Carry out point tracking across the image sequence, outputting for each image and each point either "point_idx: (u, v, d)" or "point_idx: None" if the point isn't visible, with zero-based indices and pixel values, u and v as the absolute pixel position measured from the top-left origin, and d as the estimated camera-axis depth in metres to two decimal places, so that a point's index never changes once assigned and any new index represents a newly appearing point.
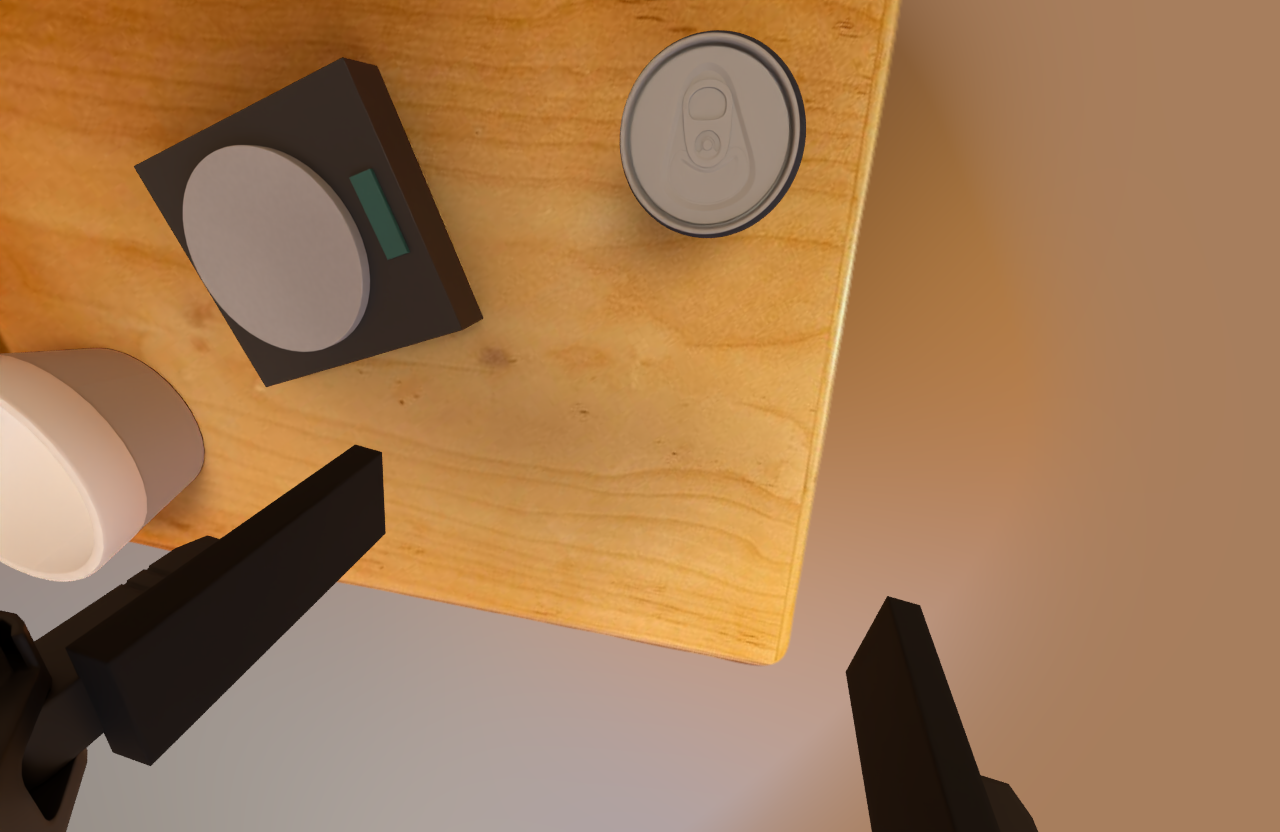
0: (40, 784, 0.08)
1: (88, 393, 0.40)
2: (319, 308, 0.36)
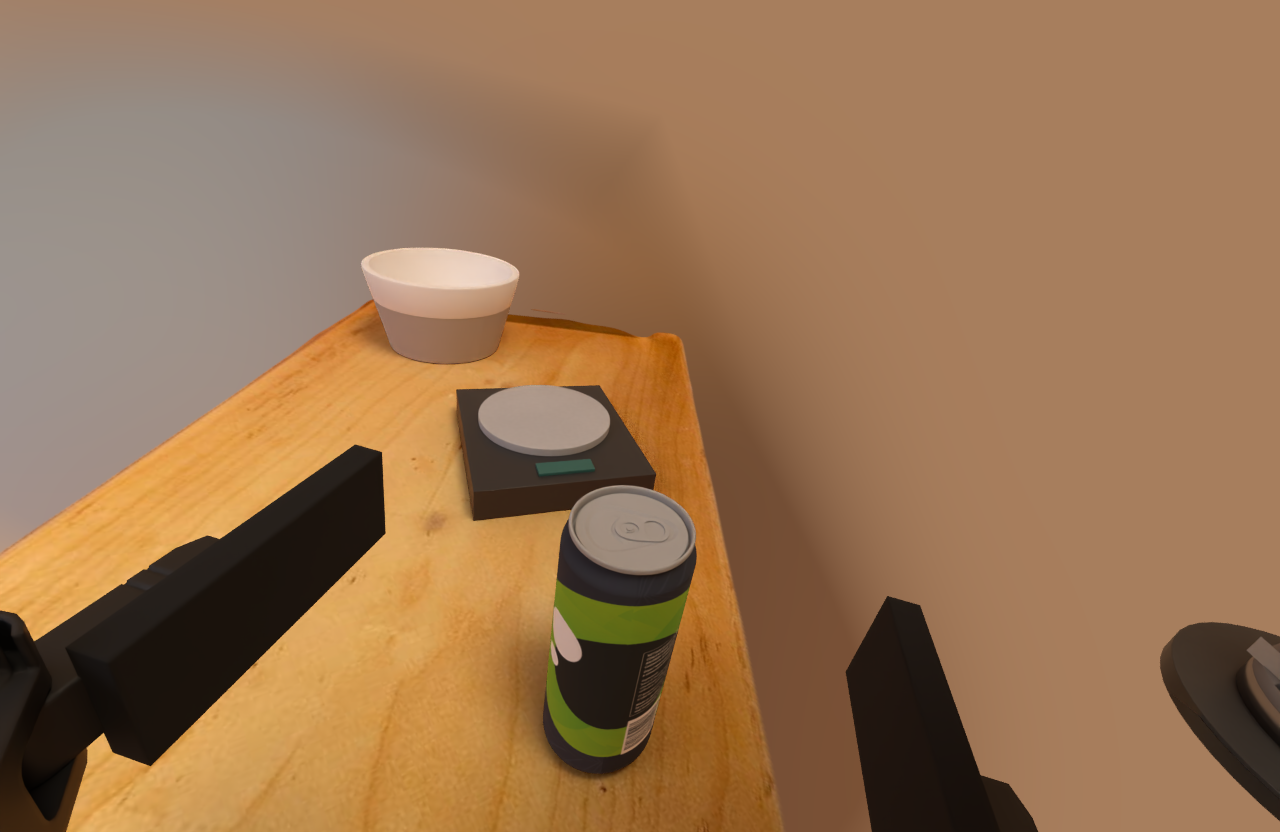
0: (40, 784, 0.08)
1: (479, 321, 0.67)
2: (508, 423, 0.51)
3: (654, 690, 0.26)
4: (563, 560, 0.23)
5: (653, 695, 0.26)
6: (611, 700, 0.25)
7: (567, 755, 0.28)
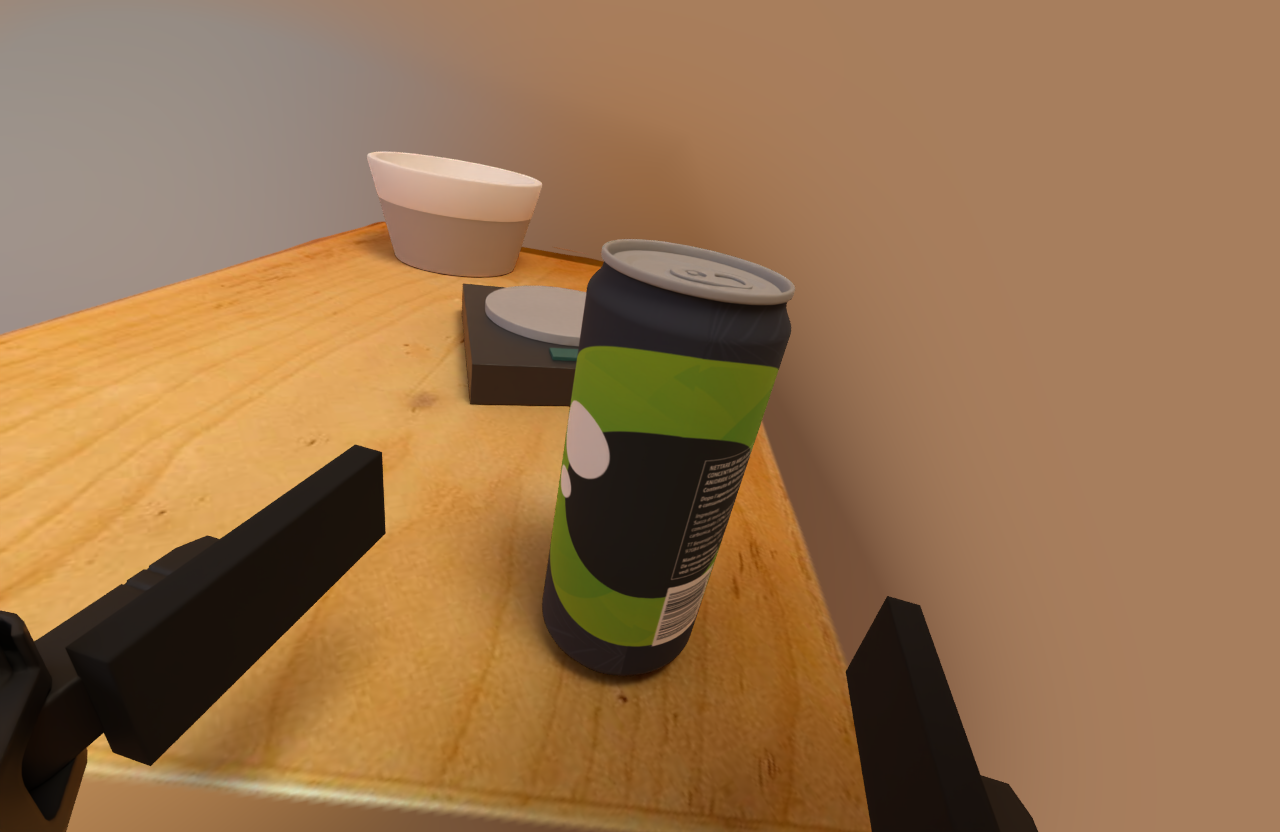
0: (40, 784, 0.08)
1: (494, 227, 0.59)
2: (519, 311, 0.43)
3: (709, 543, 0.18)
4: (590, 303, 0.15)
5: (707, 554, 0.18)
6: (648, 545, 0.17)
7: (574, 644, 0.19)
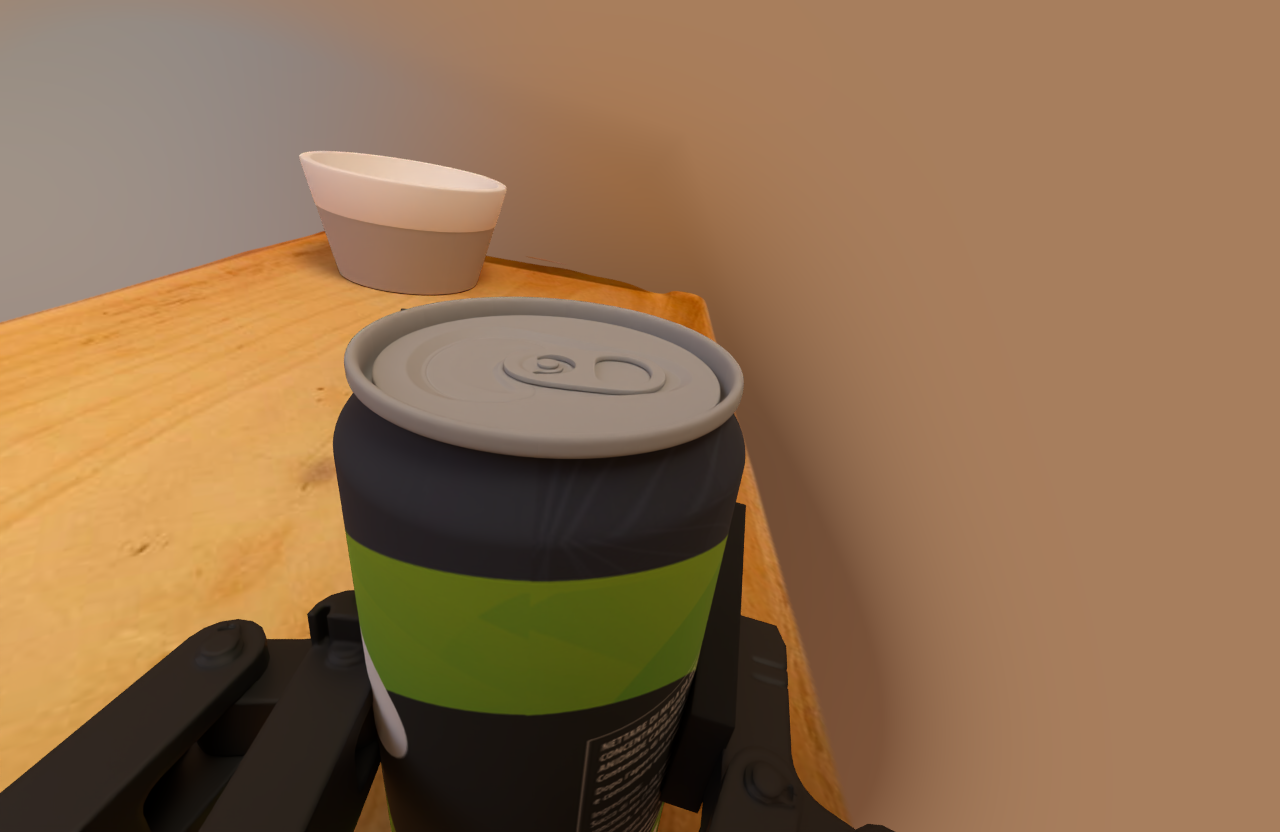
0: (360, 748, 0.09)
1: (448, 238, 0.52)
2: None
3: (635, 827, 0.10)
4: None
5: None
6: None
7: None
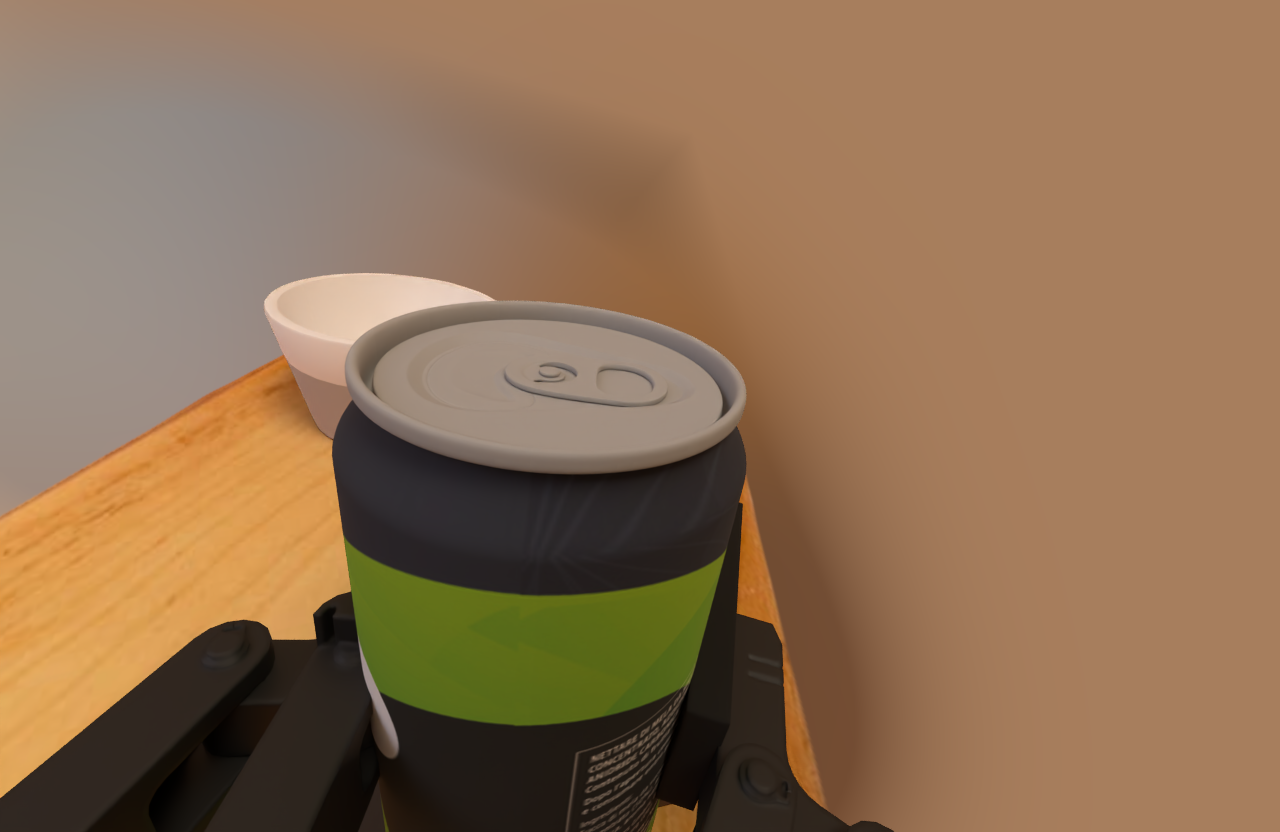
0: (364, 749, 0.09)
1: None
2: None
3: None
4: None
5: None
6: None
7: None
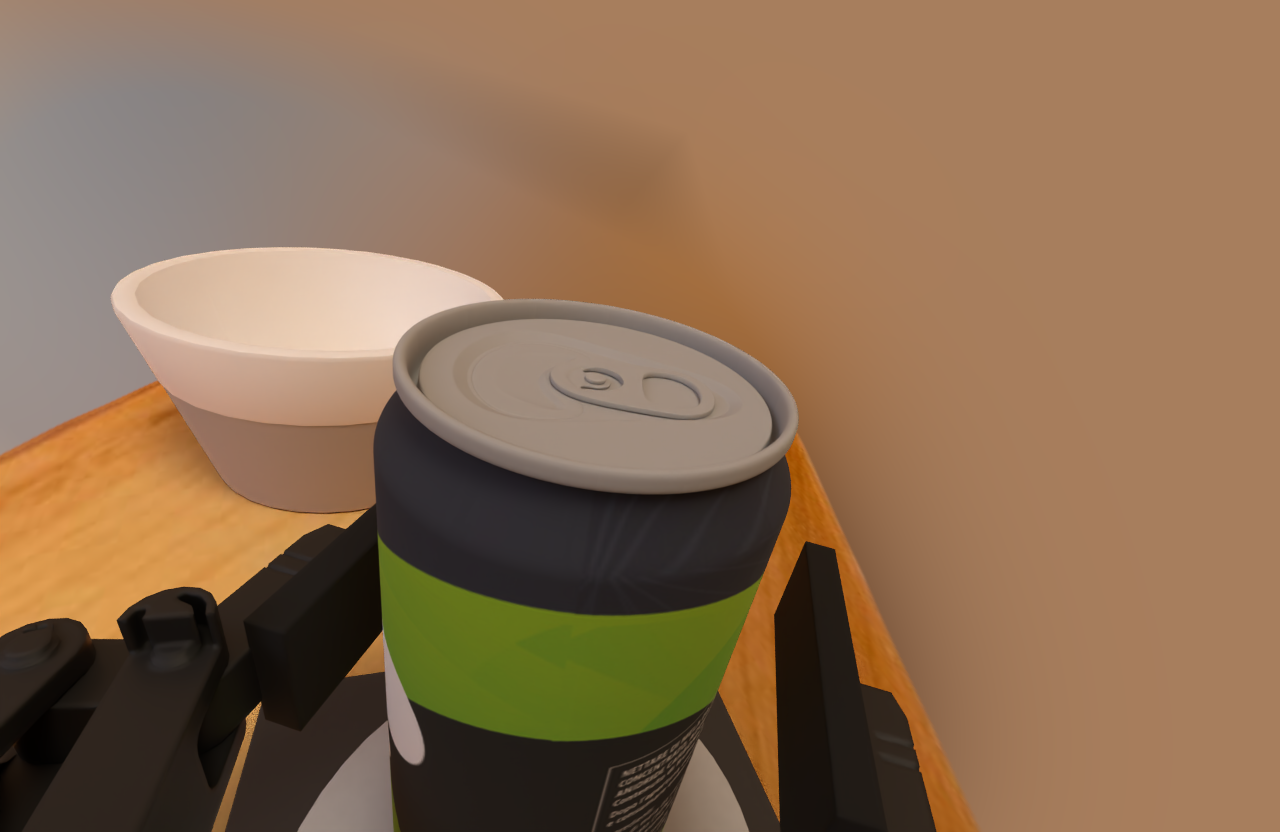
0: (208, 750, 0.09)
1: None
2: None
3: None
4: None
5: None
6: None
7: None
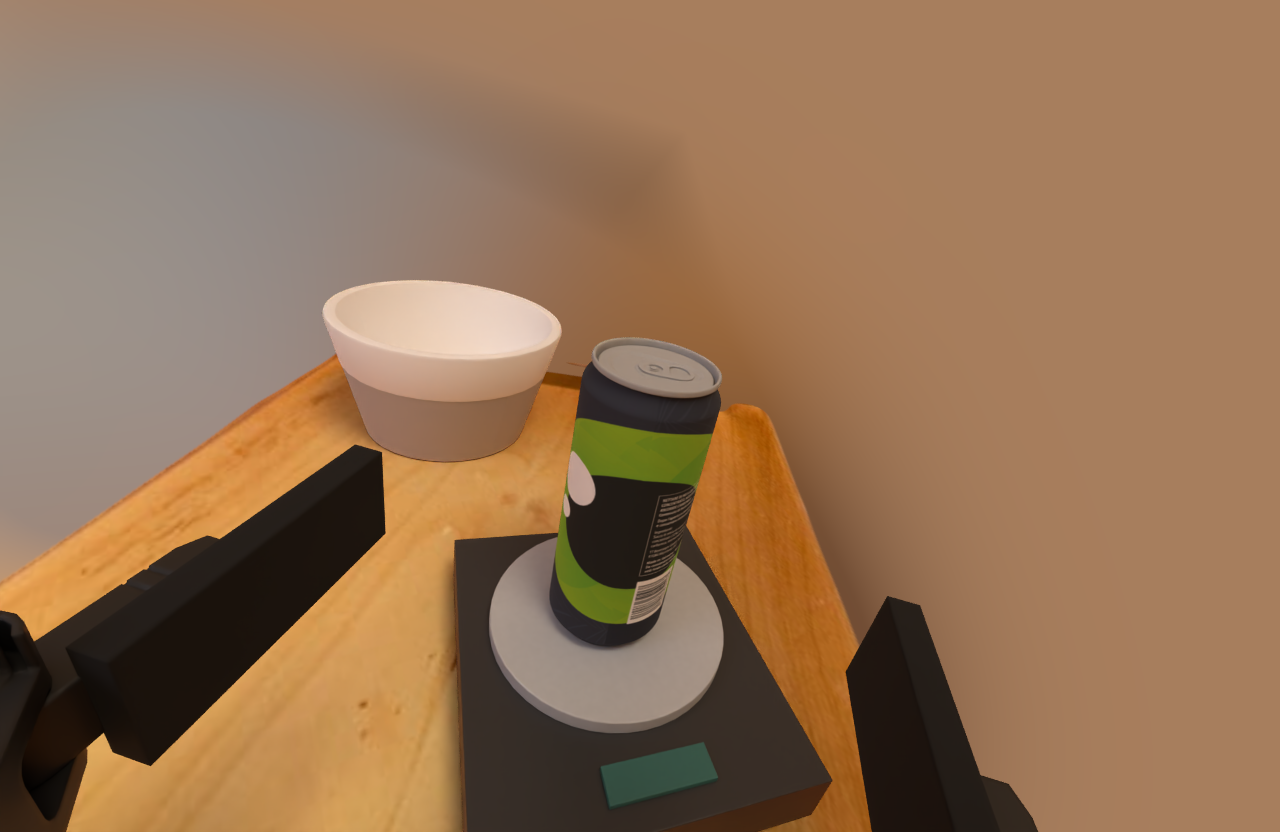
0: (40, 784, 0.08)
1: (498, 403, 0.43)
2: (544, 642, 0.27)
3: (666, 551, 0.25)
4: (583, 390, 0.23)
5: (665, 558, 0.25)
6: (621, 551, 0.24)
7: (571, 621, 0.27)
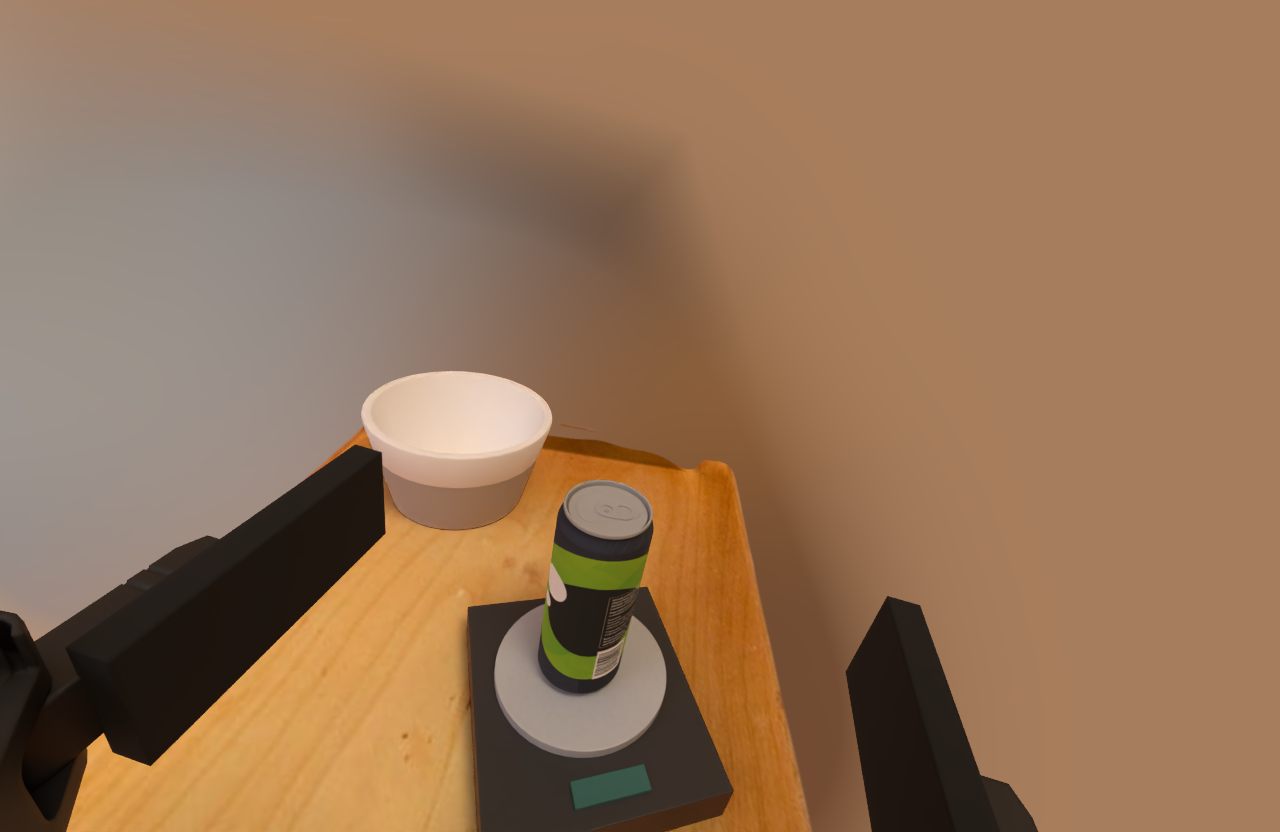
0: (40, 784, 0.08)
1: (500, 485, 0.54)
2: (534, 690, 0.38)
3: (618, 630, 0.36)
4: (558, 527, 0.33)
5: (617, 635, 0.36)
6: (585, 633, 0.35)
7: (552, 677, 0.38)
